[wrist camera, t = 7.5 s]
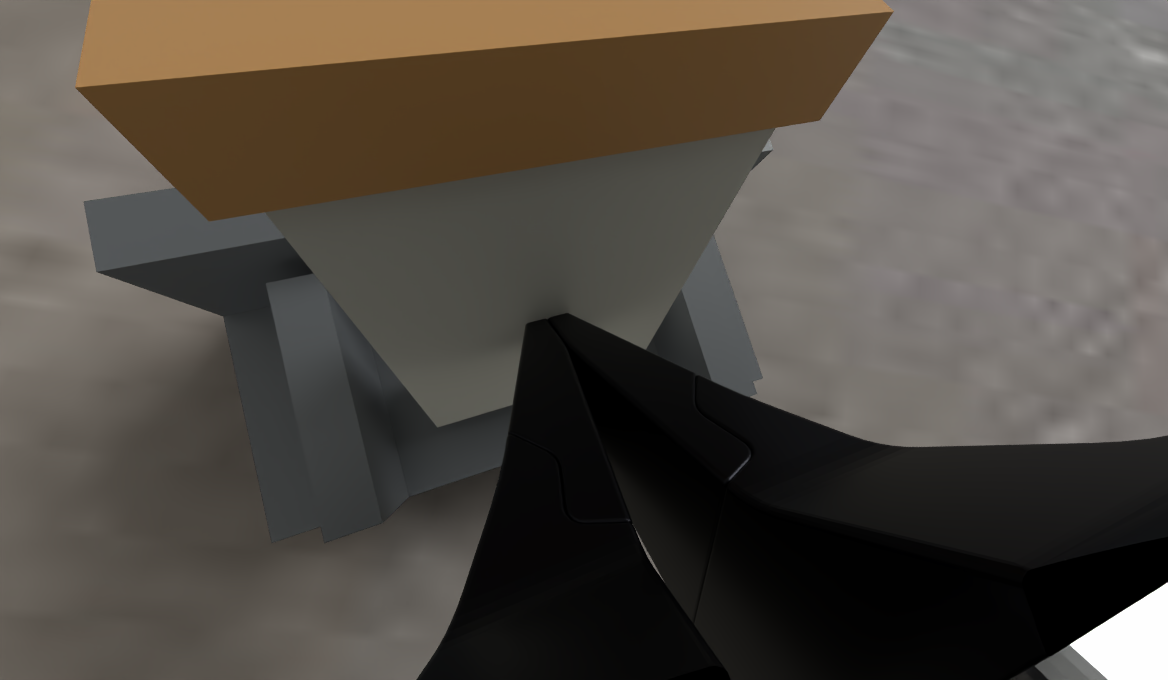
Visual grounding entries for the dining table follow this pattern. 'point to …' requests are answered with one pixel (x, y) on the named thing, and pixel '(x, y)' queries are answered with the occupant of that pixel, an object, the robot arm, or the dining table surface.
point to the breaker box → (349, 362)
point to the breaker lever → (472, 149)
